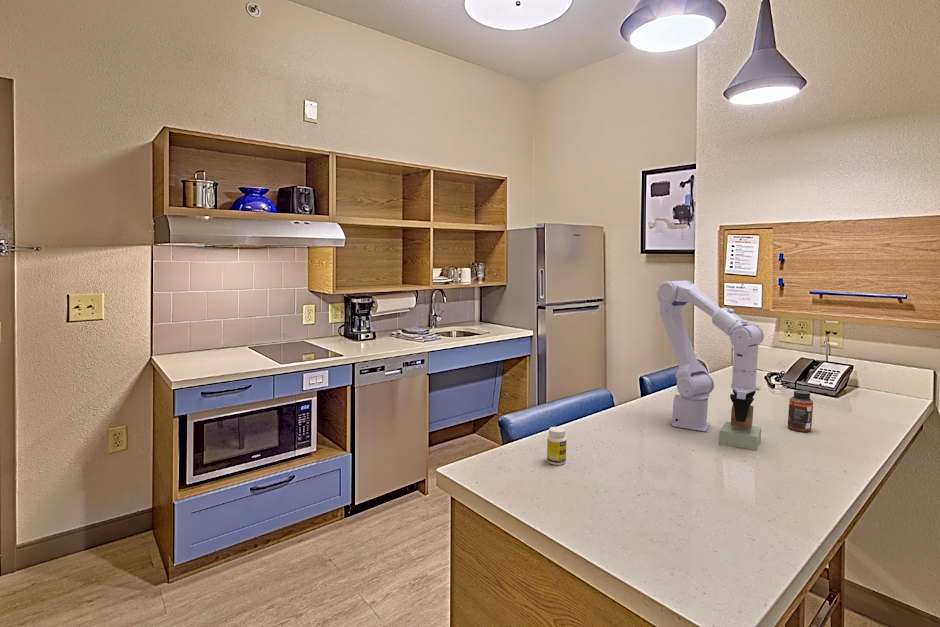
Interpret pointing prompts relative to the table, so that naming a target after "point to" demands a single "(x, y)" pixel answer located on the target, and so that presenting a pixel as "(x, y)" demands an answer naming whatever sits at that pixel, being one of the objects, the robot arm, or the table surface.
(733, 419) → the walnut cube
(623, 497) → the table surface
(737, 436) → the sage block
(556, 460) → the supplement bottle
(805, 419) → the supplement bottle
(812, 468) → the table surface
